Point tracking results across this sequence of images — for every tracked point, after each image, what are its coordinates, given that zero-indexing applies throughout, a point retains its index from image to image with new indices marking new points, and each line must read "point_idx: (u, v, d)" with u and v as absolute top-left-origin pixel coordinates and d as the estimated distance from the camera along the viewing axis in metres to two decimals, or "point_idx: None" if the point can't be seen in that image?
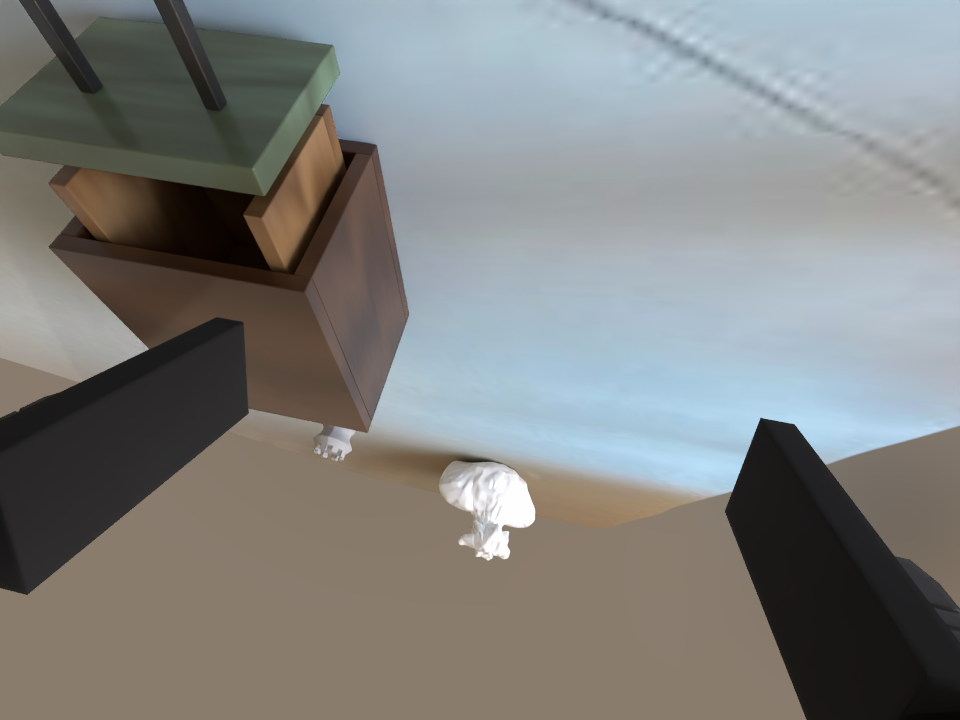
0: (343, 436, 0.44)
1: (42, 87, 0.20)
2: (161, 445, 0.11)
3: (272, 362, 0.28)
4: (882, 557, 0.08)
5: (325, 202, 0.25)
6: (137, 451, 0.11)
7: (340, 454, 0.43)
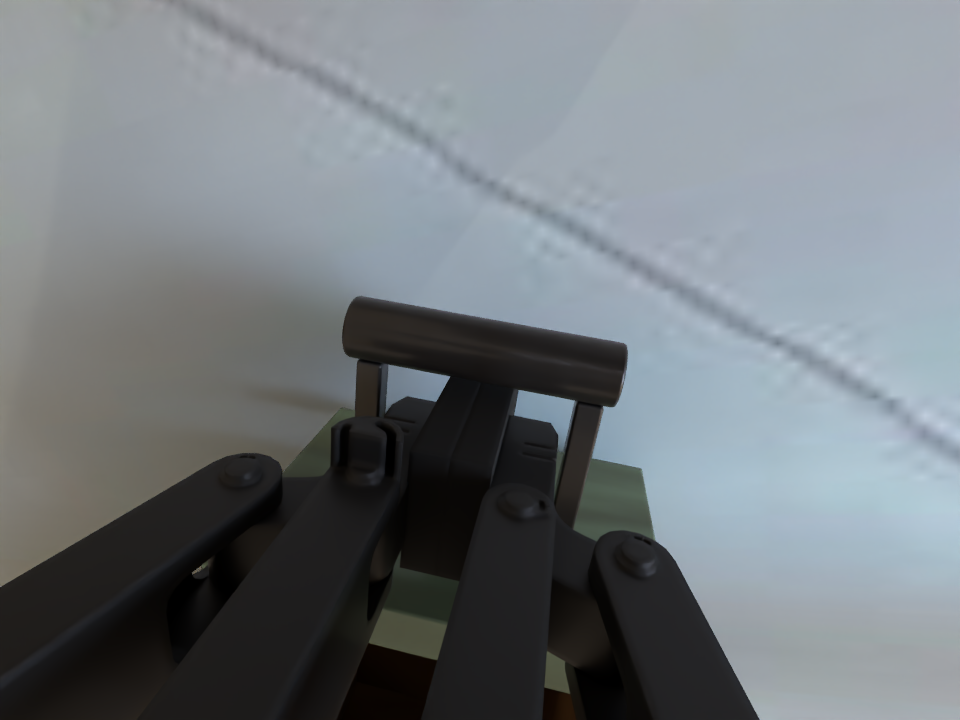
0: None
1: None
2: None
3: None
4: (497, 409, 0.11)
5: None
6: None
7: None
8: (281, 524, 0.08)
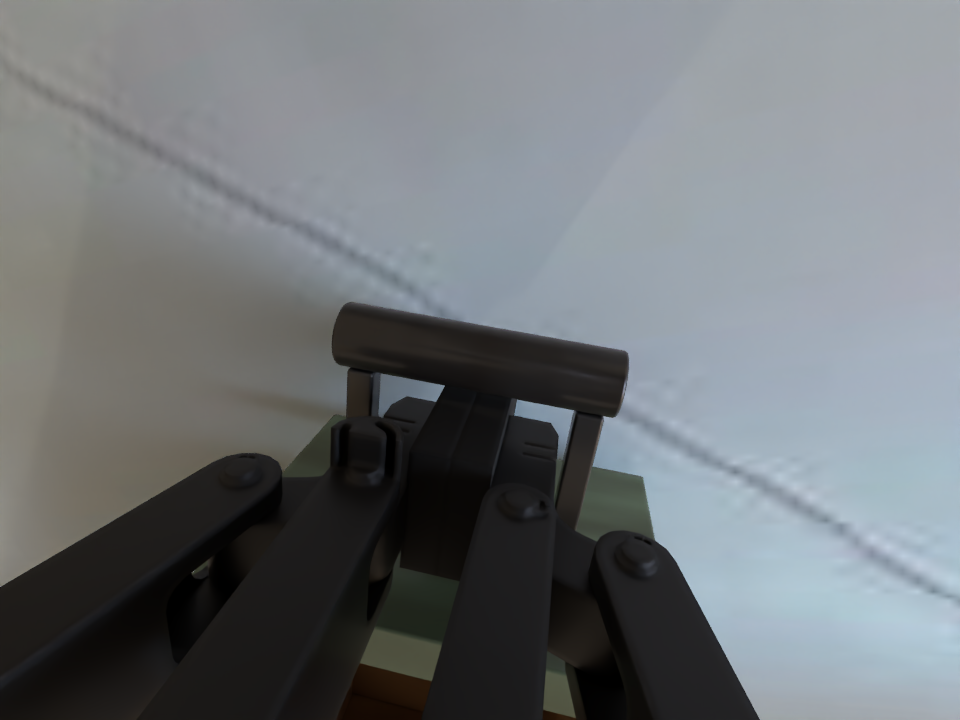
0: None
1: None
2: None
3: None
4: (497, 408, 0.11)
5: None
6: None
7: None
8: (281, 524, 0.08)
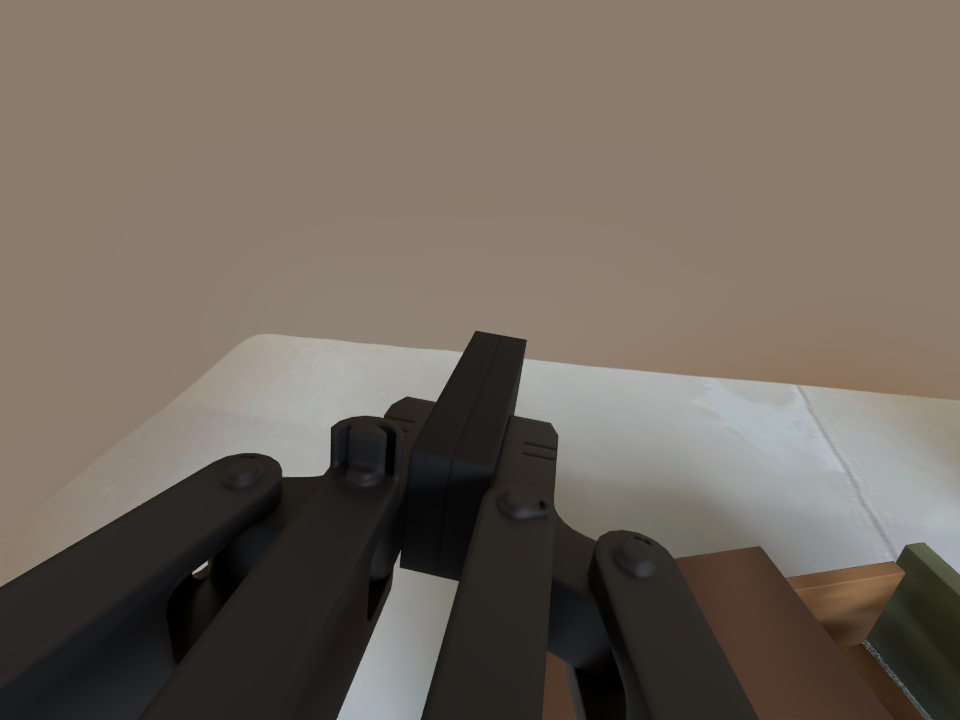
0: None
1: None
2: None
3: None
4: (497, 409, 0.11)
5: None
6: None
7: None
8: (281, 524, 0.08)
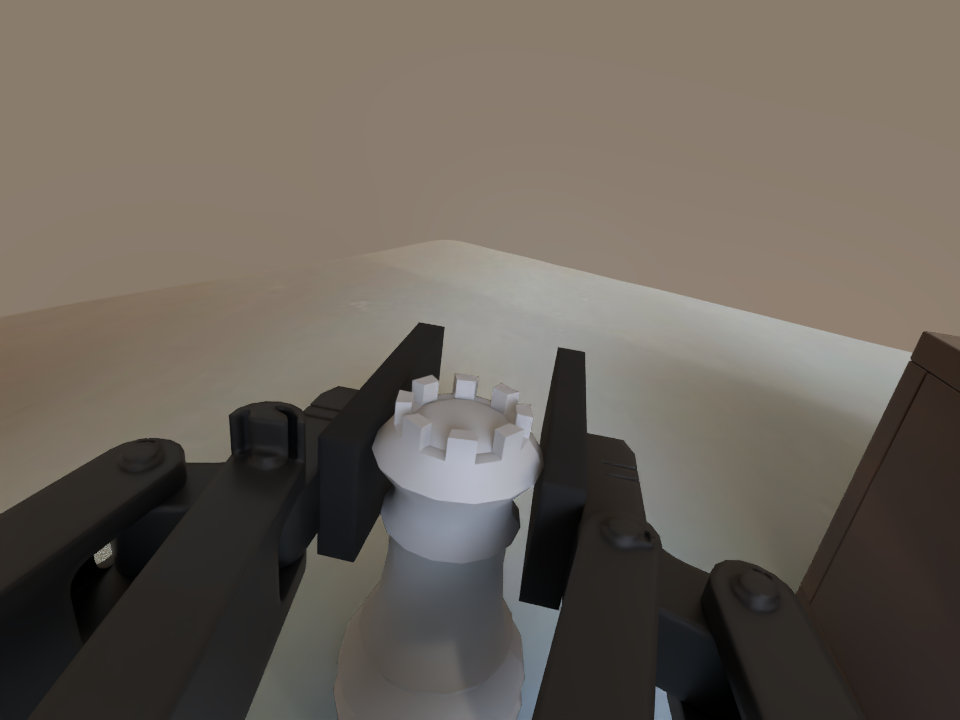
0: (490, 510, 0.09)
1: None
2: None
3: None
4: (576, 427, 0.11)
5: None
6: None
7: (476, 443, 0.09)
8: (179, 507, 0.08)
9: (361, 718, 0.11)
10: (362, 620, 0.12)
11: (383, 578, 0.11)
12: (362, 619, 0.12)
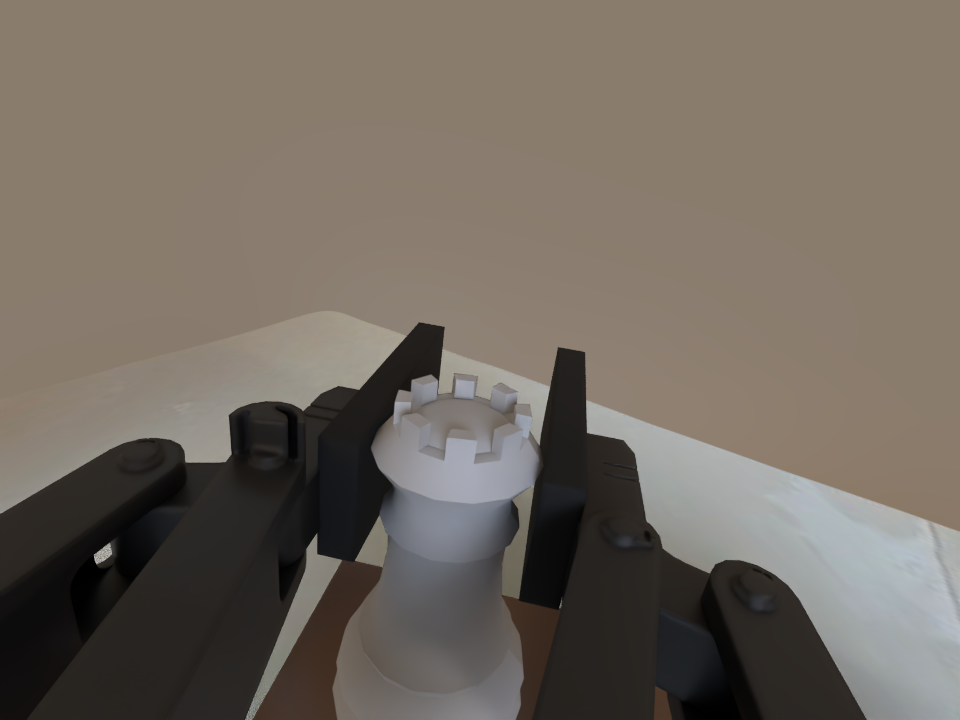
0: (489, 511, 0.09)
1: None
2: None
3: None
4: (575, 427, 0.11)
5: None
6: None
7: (475, 443, 0.09)
8: (179, 507, 0.08)
9: (360, 718, 0.11)
10: (361, 620, 0.12)
11: (382, 578, 0.11)
12: (361, 619, 0.12)
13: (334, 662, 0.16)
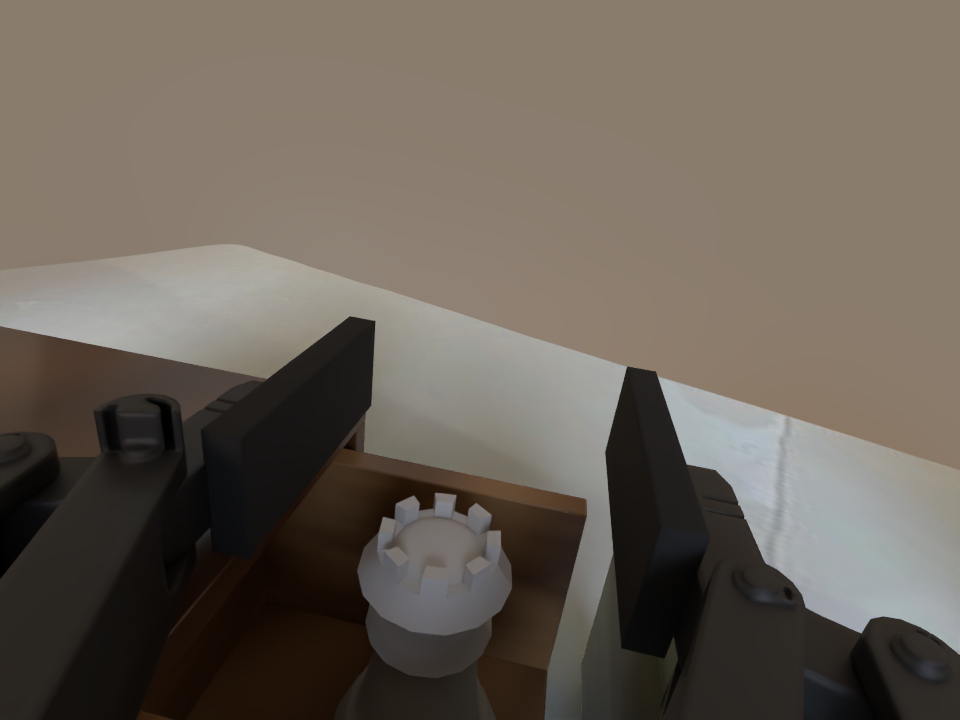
0: (461, 632, 0.11)
1: None
2: (324, 432, 0.13)
3: None
4: (673, 459, 0.10)
5: None
6: (312, 437, 0.12)
7: (447, 580, 0.10)
8: (42, 502, 0.08)
9: None
10: (349, 708, 0.13)
11: (368, 675, 0.12)
12: (349, 707, 0.13)
13: None
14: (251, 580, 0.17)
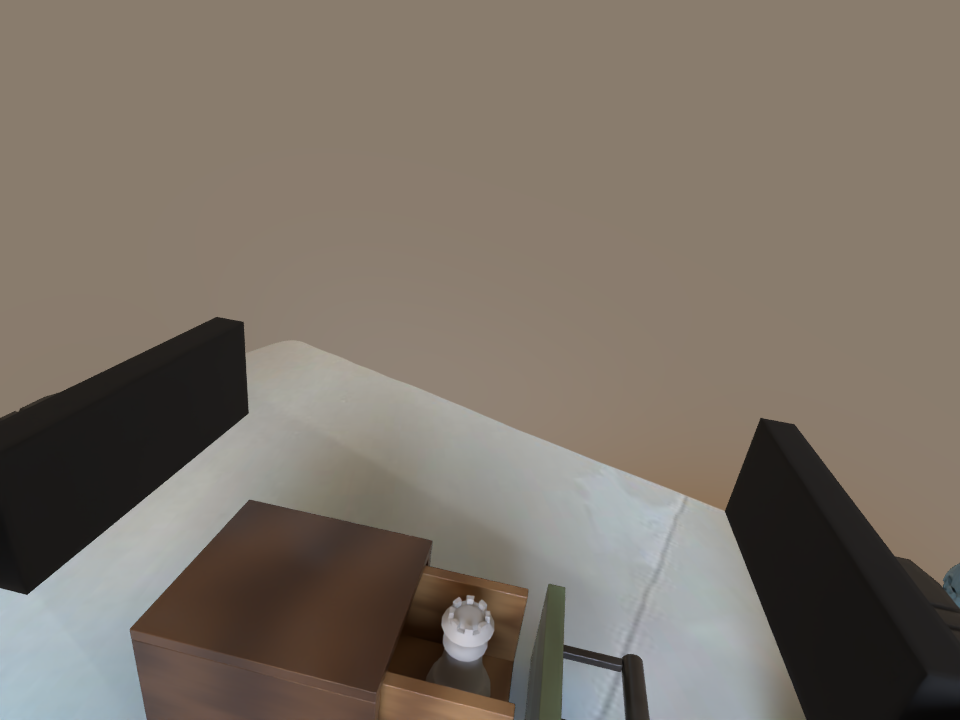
0: (477, 646, 0.32)
1: None
2: (161, 445, 0.11)
3: (289, 604, 0.32)
4: (882, 557, 0.08)
5: None
6: (138, 451, 0.11)
7: (472, 629, 0.31)
8: None
9: None
10: (434, 674, 0.34)
11: (442, 661, 0.33)
12: (434, 674, 0.34)
13: (235, 539, 0.36)
14: None
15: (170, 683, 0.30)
